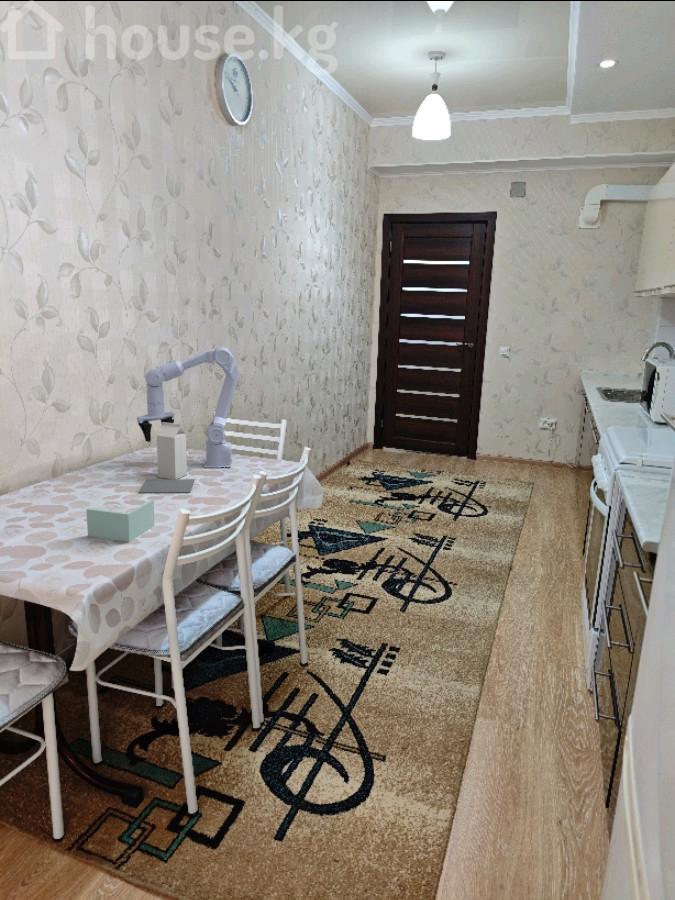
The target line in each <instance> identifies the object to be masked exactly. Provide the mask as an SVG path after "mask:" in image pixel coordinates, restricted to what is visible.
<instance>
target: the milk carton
mask: <svg viewBox="0 0 675 900" xmlns="http://www.w3.org/2000/svg"><path fill="white" fill-rule="evenodd" d="M156 452H157V453H156V455H157V478H160V479H180V478H183V477H185V476H187V475H188V466H187V465H188V463H187V461H188V460H187V459H188V458H187V433H186V432H185V431H184V429H183V428H182V427H181V423H175V422H174V423H166V422H162V423H161V427H160V429H159V430H158V432H157V434H156Z"/></svg>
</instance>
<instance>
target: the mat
mask: <svg viewBox="0 0 675 900" xmlns="http://www.w3.org/2000/svg"><path fill="white" fill-rule="evenodd" d="M194 480H195V479H186V478H184V479H180V478H178V479H166V478H160V479H159V478H157V479H155V478H154V479H153V478H152V479H148V478H147V479H145V481H144V483H143V484H142V486H141V487H140V489H139V491H138V492H137V493H138V494H191V491H192V489H193V486H194V484H193V483H195V481H194Z"/></svg>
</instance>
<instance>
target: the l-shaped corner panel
mask: <svg viewBox="0 0 675 900" xmlns="http://www.w3.org/2000/svg"><path fill="white" fill-rule="evenodd" d="M154 501H155V500H154V499H150V500H148V501H146V502H145V503H142V504H141V505H139V506H136V508H134V509H132V510H130V511H128V512H126V511H125V512H124V511H117V510H116V511H115V510H107V509H101V508H95V507H94V508H93V507H87V508H86V509H85V510H86V525H87V537H91V538H99V539H104V540H112V541H119V542H125V543H130V542H132V541H134V540H135V539H137V538H138V537H140V536H141V535H143V534H144V533H146V532H147V531H149V530H151V529H153V528H154V527H155V502H154Z"/></svg>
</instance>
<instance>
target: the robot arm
mask: <svg viewBox="0 0 675 900" xmlns="http://www.w3.org/2000/svg"><path fill="white" fill-rule="evenodd" d="M235 358H236V357H234V355H233V353H232V352H231V351H230V350H229V348H227V347H226V346H222V345H221V346H218V347H217V348H215V347H214V348H211V349H208V350H205V351H202V352H200V353H198V354H195V355H193V356H191V357H188V358H187V359H185V360H182V361H179V360H177V359H176V360H173V359H170V360H168V363H166V364H162V365H161V366H160V365H157V366H155V368H152V369H150V370H148V372H147V373H146V375H145V381H146V383H147V384H146V389H147V390H146V404H147V405H146V406H147V407H146V409H147V414H145V415H141V416H136V422H137V424H138V427H139V428H140V429H141V431H142V433H143V437H144V439H145V442H147V443H148V442H149V443H150V442H151V441H152V437H151V436H152V434H151V431H152V426H153V424H152V423H150V422H153V421H160V422H161V424H162V422H166V423H175V412H172V411H171V412H165V399H164V397H165V396H164V388H163V382H169V381H171V380H173V379H175V378H179V377H180V376H183V375H184V372H185V370H188V369H191V368H193V367H196V366H198V365H201V364H205V363H207V364H214V362H215V363H216V364H217V366H219V367H220V368H222V371H223V373H224V374H225V377H224V381H223V384H222V387H221V391H220V395H219V398H218V400H217V401H218V402H217V404H216V409H215V413H214V415H213V417H212V421H211V422H210V424H208V426H207V429H206V433H207V434H206V436H207V440H205V441H206V442H205V445H206V446H205V452H206V454H205V455H206V458H205V459H206V461H205V465H204V468H213V469H214V468H217V469H218V468H221V467H224V468H225V467H227V469H229V468H228V467H230V468H231V466H232V462H233V457H232V442H229V441H227V440H226V439H225V438H226V433H225V428H226V424H227V418H228V415H229V413H230V408H231V405H232V402H233V398H234V395H235V391H236V388H237V384H238V381H239V378H240V370H239V367H238V365H237V361H236V359H235ZM224 468H223V469H224ZM221 469H222V468H221Z"/></svg>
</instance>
